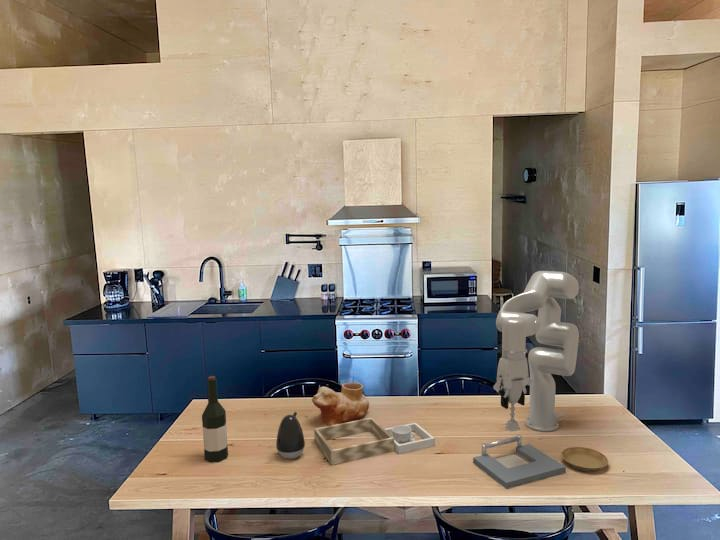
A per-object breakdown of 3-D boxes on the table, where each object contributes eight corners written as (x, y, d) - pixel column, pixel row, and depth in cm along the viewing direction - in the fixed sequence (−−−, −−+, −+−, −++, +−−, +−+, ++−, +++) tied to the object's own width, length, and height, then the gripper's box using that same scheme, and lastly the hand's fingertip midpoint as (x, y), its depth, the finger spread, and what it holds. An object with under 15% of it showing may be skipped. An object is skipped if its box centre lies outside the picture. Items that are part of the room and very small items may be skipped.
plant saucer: (613, 476, 172) (614, 469, 172) (566, 473, 174) (566, 466, 174) (600, 454, 186) (601, 447, 186) (557, 452, 189) (557, 445, 188)
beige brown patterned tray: (372, 429, 210) (371, 417, 210) (394, 451, 192) (394, 438, 191) (314, 441, 201) (314, 428, 201) (331, 465, 183) (331, 451, 182)
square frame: (415, 429, 209) (415, 422, 209) (434, 445, 195) (434, 438, 195) (381, 437, 204) (380, 429, 203) (398, 454, 190) (398, 446, 189)
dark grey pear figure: (310, 450, 194) (308, 411, 192) (297, 464, 184) (296, 422, 182) (285, 446, 197) (283, 408, 195) (271, 460, 188) (269, 419, 185)
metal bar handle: (519, 450, 191) (519, 434, 190) (522, 452, 189) (522, 436, 188) (480, 459, 184) (480, 443, 184) (483, 461, 183) (483, 445, 182)
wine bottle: (207, 465, 185) (201, 382, 181) (202, 455, 192) (197, 375, 188) (230, 459, 189) (226, 378, 185) (225, 449, 196) (220, 371, 192)
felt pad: (513, 454, 188) (513, 453, 188) (531, 466, 179) (531, 465, 179) (492, 459, 184) (492, 459, 184) (509, 471, 176) (509, 471, 176)
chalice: (523, 433, 176) (524, 381, 173) (502, 431, 177) (503, 380, 175) (521, 424, 183) (522, 373, 180) (501, 422, 184) (502, 373, 182)
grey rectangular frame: (529, 449, 191) (529, 443, 191) (565, 472, 175) (565, 466, 174) (473, 462, 182) (473, 457, 182) (506, 488, 166) (506, 482, 166)
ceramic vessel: (305, 420, 221) (304, 385, 219) (358, 405, 235) (357, 373, 233) (321, 431, 209) (320, 395, 207) (376, 415, 224) (375, 381, 221)
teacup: (385, 444, 198) (385, 432, 197) (393, 433, 207) (393, 422, 206) (411, 448, 194) (411, 436, 193) (418, 437, 203) (418, 425, 203)
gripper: (526, 348, 183) (525, 398, 186) (485, 354, 177) (484, 406, 179) (542, 353, 176) (540, 405, 179) (499, 360, 170) (498, 414, 172)
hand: (512, 405), depth 179 cm, fingers closed on chalice, 6 cm apart
